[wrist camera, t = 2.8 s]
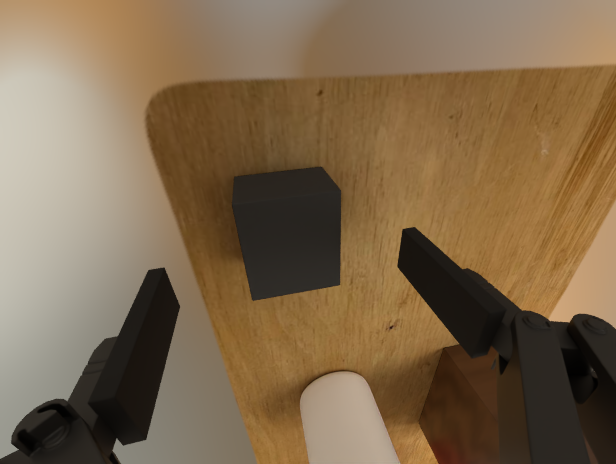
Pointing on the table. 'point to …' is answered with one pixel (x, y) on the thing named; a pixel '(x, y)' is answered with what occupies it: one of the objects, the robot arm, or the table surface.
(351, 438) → the mug
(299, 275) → the pad
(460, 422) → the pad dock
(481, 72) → the table surface
